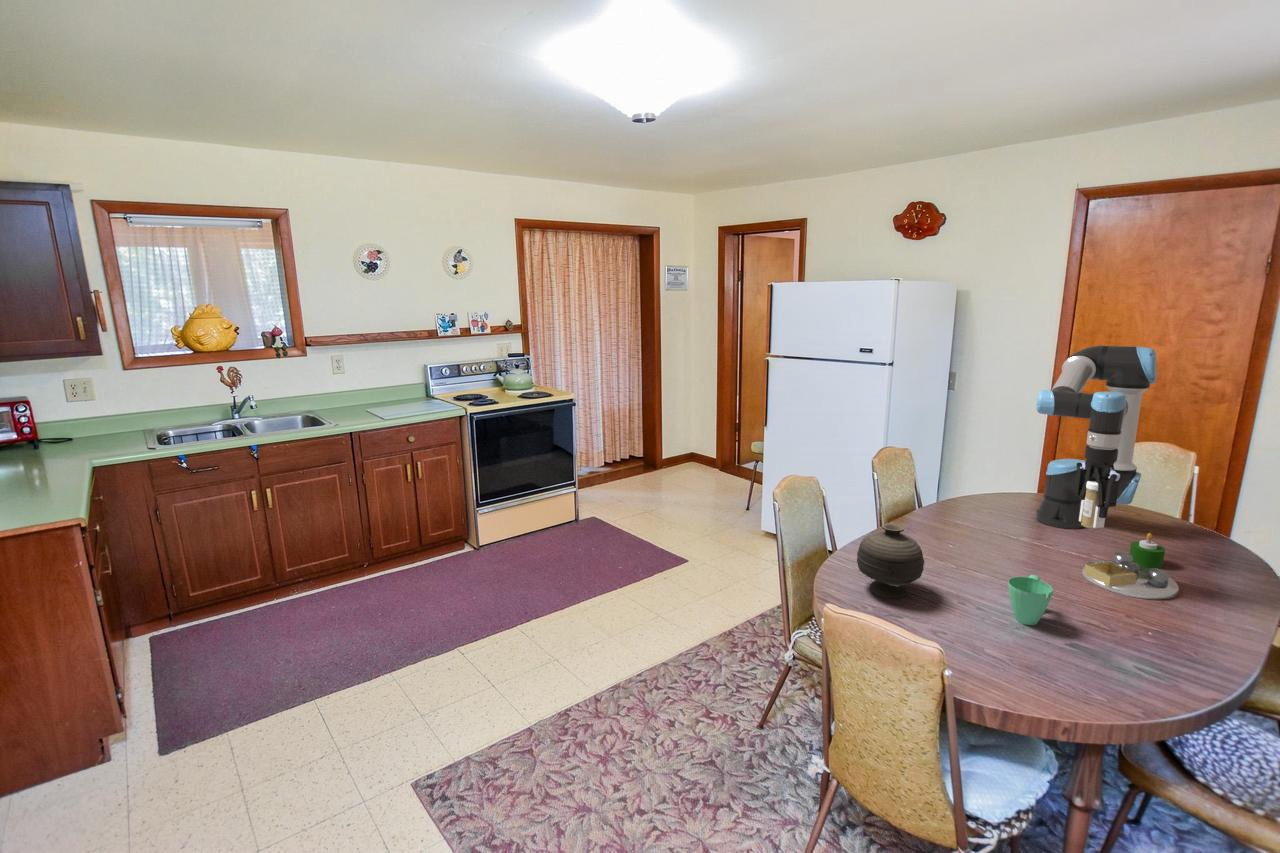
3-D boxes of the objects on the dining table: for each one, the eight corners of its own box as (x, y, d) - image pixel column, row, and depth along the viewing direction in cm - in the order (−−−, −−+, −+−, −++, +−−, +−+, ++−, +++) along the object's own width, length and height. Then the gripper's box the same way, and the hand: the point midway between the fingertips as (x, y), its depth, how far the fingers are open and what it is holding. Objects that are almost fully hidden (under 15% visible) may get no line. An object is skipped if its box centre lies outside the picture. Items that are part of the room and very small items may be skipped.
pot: (869, 567, 192) (878, 508, 186) (928, 591, 179) (939, 528, 174) (841, 588, 180) (849, 526, 174) (902, 615, 167) (913, 548, 162)
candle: (1163, 562, 193) (1168, 532, 191) (1161, 571, 187) (1166, 540, 185) (1129, 555, 198) (1134, 526, 196) (1126, 563, 192) (1131, 533, 190)
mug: (1046, 634, 154) (1051, 598, 152) (1001, 622, 160) (1005, 587, 158) (1052, 610, 165) (1056, 576, 163) (1009, 600, 171) (1013, 566, 169)
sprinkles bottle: (1102, 530, 178) (1108, 485, 175) (1083, 528, 179) (1089, 483, 176) (1096, 524, 182) (1103, 480, 179) (1078, 522, 183) (1084, 479, 181)
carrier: (1064, 568, 190) (1066, 551, 189) (1128, 562, 193) (1130, 546, 192) (1128, 602, 169) (1131, 584, 168) (1199, 596, 171) (1202, 577, 170)
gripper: (1065, 440, 184) (1056, 514, 188) (1116, 455, 166) (1104, 536, 171) (1089, 439, 184) (1079, 513, 189) (1141, 453, 167) (1129, 534, 172)
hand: (1091, 524), depth 180 cm, fingers closed on sprinkles bottle, 4 cm apart
